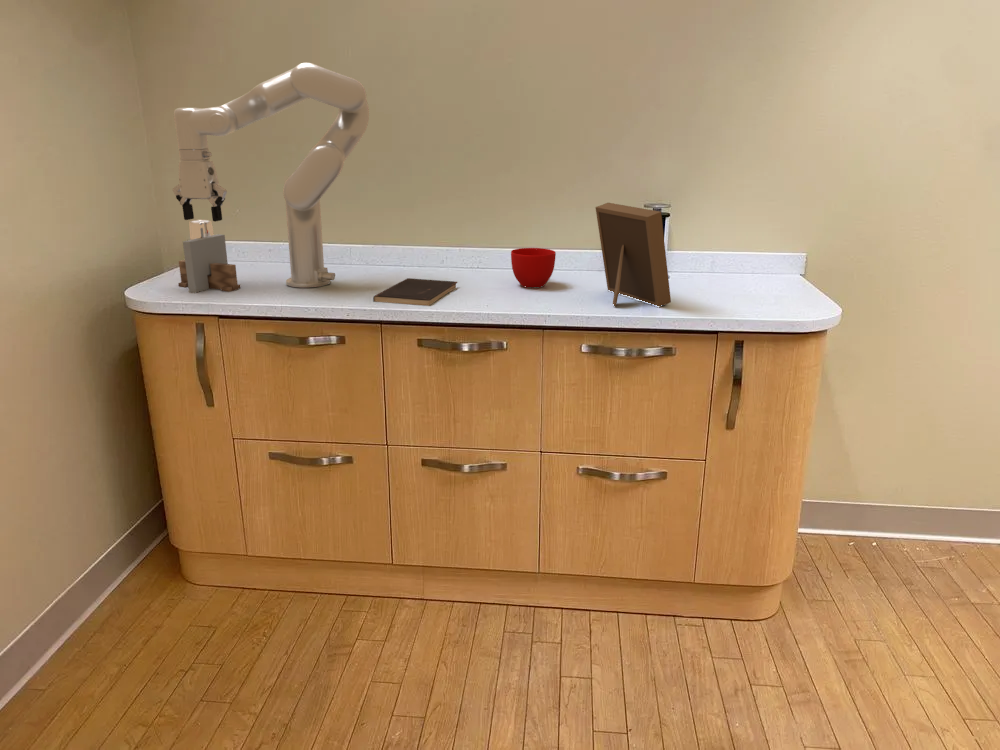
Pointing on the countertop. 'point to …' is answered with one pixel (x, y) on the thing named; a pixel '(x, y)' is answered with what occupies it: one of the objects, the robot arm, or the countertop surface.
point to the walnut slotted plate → (215, 276)
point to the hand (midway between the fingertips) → (203, 220)
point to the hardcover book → (415, 291)
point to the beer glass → (200, 228)
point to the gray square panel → (203, 259)
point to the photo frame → (634, 252)
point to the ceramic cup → (533, 265)
